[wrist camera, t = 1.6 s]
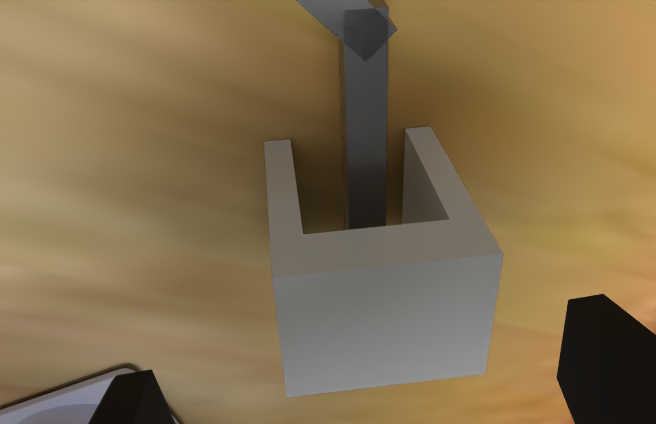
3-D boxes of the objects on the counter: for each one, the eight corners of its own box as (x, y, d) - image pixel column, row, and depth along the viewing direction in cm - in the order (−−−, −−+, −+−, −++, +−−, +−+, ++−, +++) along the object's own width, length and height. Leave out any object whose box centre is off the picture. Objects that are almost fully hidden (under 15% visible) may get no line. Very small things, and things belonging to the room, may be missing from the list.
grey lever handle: (452, 262, 22) (488, 342, 19) (296, 315, 23) (305, 402, 19) (214, -529, 11) (201, -672, 8) (-82, -382, 11) (-212, -455, 8)
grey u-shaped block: (424, 229, 21) (484, 373, 16) (276, 244, 21) (286, 397, 15) (430, 126, 19) (503, 253, 14) (264, 141, 19) (272, 278, 13)
